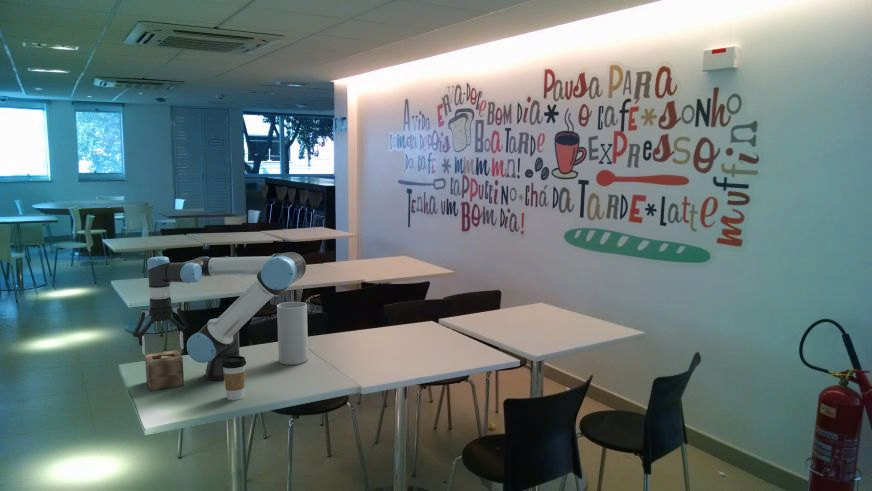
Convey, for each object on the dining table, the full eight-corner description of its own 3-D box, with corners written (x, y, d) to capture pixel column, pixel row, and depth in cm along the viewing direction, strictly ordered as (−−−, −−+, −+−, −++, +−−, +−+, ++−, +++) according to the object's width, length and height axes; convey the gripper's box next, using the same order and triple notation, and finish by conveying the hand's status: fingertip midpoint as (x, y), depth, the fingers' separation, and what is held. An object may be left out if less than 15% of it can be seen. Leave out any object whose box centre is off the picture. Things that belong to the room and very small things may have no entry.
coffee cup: (226, 393, 225) (224, 354, 223) (249, 392, 226) (248, 353, 224) (220, 402, 217) (218, 361, 215) (244, 401, 217) (242, 361, 216)
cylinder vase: (314, 359, 265) (312, 304, 262) (293, 367, 255) (291, 309, 252) (293, 354, 272) (292, 300, 269) (272, 362, 262) (270, 305, 259)
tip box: (179, 376, 244) (177, 350, 242) (184, 385, 233) (182, 358, 232) (146, 381, 237) (144, 354, 236) (150, 391, 227) (148, 363, 226)
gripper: (193, 292, 241) (195, 343, 243) (123, 298, 228) (126, 353, 230) (196, 295, 234) (199, 348, 237) (124, 302, 221) (128, 358, 224)
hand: (163, 350), depth 234 cm, fingers open, 13 cm apart
